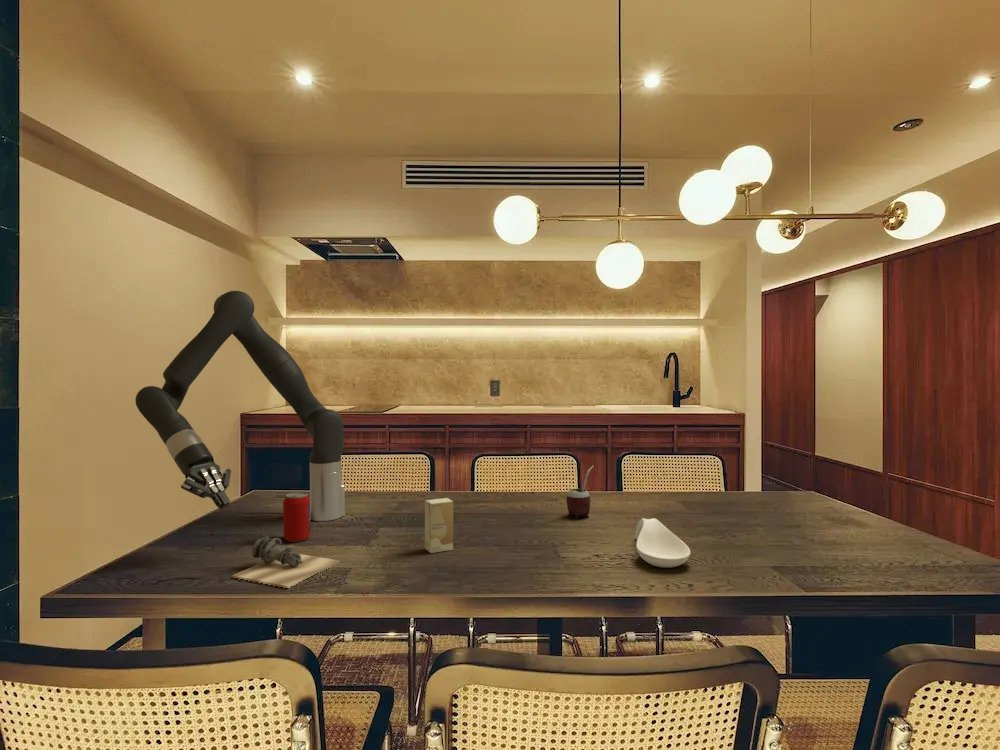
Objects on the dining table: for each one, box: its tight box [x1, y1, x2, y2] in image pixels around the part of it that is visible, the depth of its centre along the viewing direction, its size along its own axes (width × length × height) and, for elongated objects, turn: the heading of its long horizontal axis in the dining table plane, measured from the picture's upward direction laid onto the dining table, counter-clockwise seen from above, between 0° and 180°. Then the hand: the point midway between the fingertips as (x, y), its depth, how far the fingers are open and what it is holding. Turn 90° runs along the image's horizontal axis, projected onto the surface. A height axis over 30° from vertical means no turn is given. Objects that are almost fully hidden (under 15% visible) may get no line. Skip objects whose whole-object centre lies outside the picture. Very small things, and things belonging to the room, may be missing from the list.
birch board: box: [231, 553, 341, 589], centre depth 122 cm, size 16×16×1 cm
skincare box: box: [424, 497, 454, 554], centre depth 134 cm, size 6×4×12 cm
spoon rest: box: [634, 517, 691, 569], centre depth 128 cm, size 24×12×7 cm, turn 0°
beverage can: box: [282, 491, 311, 543], centre depth 144 cm, size 7×7×12 cm
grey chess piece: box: [251, 534, 303, 567], centre depth 123 cm, size 6×6×12 cm
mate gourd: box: [566, 465, 595, 521], centre depth 162 cm, size 8×8×15 cm
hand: (225, 506), depth 130 cm, fingers closed
